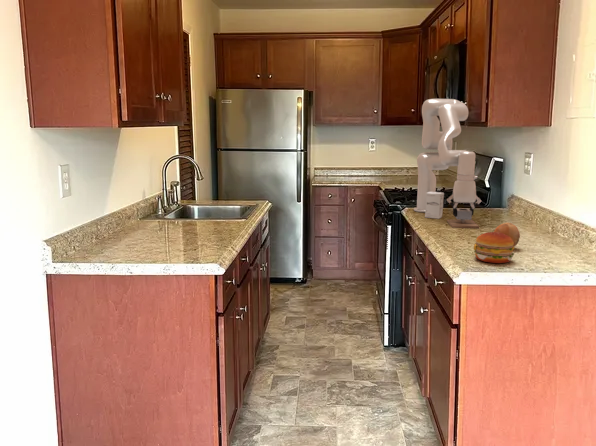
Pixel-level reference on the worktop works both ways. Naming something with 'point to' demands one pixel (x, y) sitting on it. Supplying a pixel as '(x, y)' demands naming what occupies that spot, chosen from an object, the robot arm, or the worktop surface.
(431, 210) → the supplement box
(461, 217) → the link
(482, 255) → the burger
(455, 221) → the keeper
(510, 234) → the onion
